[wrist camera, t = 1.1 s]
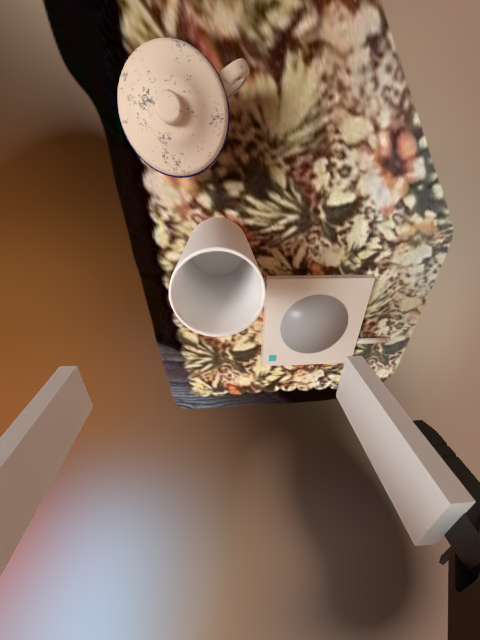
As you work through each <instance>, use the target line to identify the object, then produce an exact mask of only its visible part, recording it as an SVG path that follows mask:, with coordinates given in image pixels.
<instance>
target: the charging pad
mask: <svg viewBox="0 0 480 640" xmlns="http://www.w3.org/2000/svg"><path fill="white" fill-rule="evenodd" d="M374 281H375V277H373V276H372V275H287V276H267V277H266V297H265V306H264V321H263V335H262V350H261V364H262V366H273V365H301V364H329V363H345V361H346V357H347V356H353V352H354V349H355V346H356V344H371V343H388V342H389V338H387V337H381V338H358V335H359V332H360V329H361V325H362V322H363V318H364V315H365V312H366V308H367V305H368V301H369V298H370V295H371V291H372V288H373V284H374Z"/></svg>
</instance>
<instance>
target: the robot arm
mask: <svg viewBox="0 0 480 640" xmlns="http://www.w3.org/2000/svg"><path fill="white" fill-rule="evenodd" d="M336 397H337V399H338V401H339V402H340V404H341V406H342V408H343V410H344V412H345V414H346V416H347V418H348V419H349V421H350V423H351V425H352V427H353V429H354V431H355V433H356V435H357V436H358V438H359V440H360V442H361V444H362V446H363V448H364V450H365V452H366V454H367V455H368V457H369V459H370V461H371V463H372V465H373V467H374V469H375V471H376V472H377V474H378V476H379V478H380V480H381V482H382V484H383V486H384V487H385V490H386V491H387V493H388V495H389V497H390V499H391V501H392V503H393V504H394V507H395V508H396V510H397V512H398V514H399V516H400V518H401V520H402V522H403V524H404V525H405V527H406V529H407V531H408V533H409V535H410V537H411V538H412V541H413V542H414V544H415V546H419V545H430V544H437V543H438V542H439V541H440V540H441V539H442V538H443V537H444V536H445V537H446V539H447V540H448V542H449V543H450V545H451V547H450V548H449V549H448V550H447V551H446V552H445V553H444V554H443V555H442V556H441V558H440V561H439V563H441V564H443V565H444V564H445V563H446V562H447V561H448V560H449V570H448V572H449V573H448V640H480V482H479V481H478V480H477V479H476V478H475V476H474V475H473V474H472V473H471V472H470V470H469V469H468V468H467V467H466V466H465V465H464V464H463V462H462V461H461V460H460V459H459V458H458V457H456V454H455V453H454V452H453V450H452V449H451V448H450V447H449V446H447V443H446V442H445V441H444V440H443V439H442V437H441V436H440V435H439V434H438V433H437V432H436V431H435V430H434V429H433V428H432V427H430V426H429V425H428V424H426V423H425V422H423V421H422V420H416V421H412V420H411V418H410V417H409V416H408V415H407V413H406V412H405V411H404V410H403V408H402V407H401V406H400V405H399V403H398V402H397V401H396V399H395V398H394V397H393V395H392V394H391V393H390V392H389V390H388V389H387V388H386V387H385V385H384V384H383V383H382V381H381V380H380V379H379V378H378V376H377V375H376V374H375V373H374V371H373V370H372V369H371V367H370V366H369V365H368V364H367V362H366V361H365V360H364V359H363V357H362V356H347V357H346V361H345V364H344V368H343V372H342V375H341V379H340V382H339V386H338V390H337V393H336ZM92 408H93V405H92V403H91V401H90V398H89V395H88V393H87V390H86V388H85V386H84V383H83V380H82V378H81V375H80V373H79V370H78V368H77V366H63V367H62V366H61V367H59V368H58V369H57V371H56V372H55V373H54V374H53V375H52V377H51V378H50V379H49V380H48V381H47V383H46V384H45V385H44V386H43V387H42V389H41V390H40V391H39V392H38V394H37V395H36V396H35V397H34V398H33V399H32V401H31V402H30V403H29V404H28V405H27V407H26V408H25V409H24V410H23V411H22V413H21V414H20V415H19V416H18V417H17V418H16V420H15V421H14V422H13V423H12V424H11V426H10V427H9V428H8V430H6V432H5V433H4V434H3V435H2V437H1V438H0V576H1V574H2V572H3V571H4V569H5V567H6V565H7V563H8V561H9V560H10V557H11V556H12V554H13V552H14V550H15V549H16V547H17V545H18V543H19V541H20V539H21V538H22V536H23V534H24V532H25V530H26V528H27V527H28V525H29V523H30V521H31V519H32V517H33V516H34V514H35V512H36V510H37V508H38V507H39V505H40V503H41V501H42V499H43V497H44V496H45V494H46V492H47V490H48V488H49V486H50V484H51V483H52V481H53V479H54V477H55V475H56V473H57V472H58V470H59V468H60V466H61V464H62V462H63V461H64V459H65V457H66V455H67V453H68V451H69V450H70V448H71V446H72V444H73V442H74V441H75V439H76V437H77V435H78V433H79V431H80V430H81V428H82V426H83V424H84V422H85V420H86V419H87V417H88V415H89V413H90V411H91V409H92Z"/></svg>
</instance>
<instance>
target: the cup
mask: <svg viewBox="0 0 480 640" xmlns="http://www.w3.org/2000/svg"><path fill="white" fill-rule="evenodd" d="M265 297H266V290H265V283H264V279H263V276H262V274H261V271H260V269H259V267H258V264H257V262H256V259H255V257H254V255H253V252H252V250H251V248H250V245H249V243H248V240H247V238H246V236H245V234H244V232H243V230H242V229H241V228H240V227H239V226H238V225H237V224H236V223H234V222H233V221H231V220H229V219H226V218H221V217H215V218H210V219H207V220H205V221H203V222H201V223H200V224H199V225H197V226H196V228H195V229H194V230H193V232H192V234H191V236H190V238H189V240H188V242H187V244H186V246H185V249H184V251H183V253H182V255H181V257H180V259H179V261H178V263H177V265H176V268H175V270H174V272H173V274H172V277H171V280H170V285H169V299H170V303H171V306H172V309H173V311H174V313H175V314H176V316H177V317H178V319H179V320H180V321H181V322H182V323H183V324H184V325H185V326H187V327H188V328H189V329H191V330H193V331H195V332H197V333H199V334H202V335H206V336H212V337H224V336H230V335H233V334H236V333H239V332H241V331H243V330H245V329H246V328H248V327H249V326H250V325H251V324H252V323H253V322H254V321H255V320H256V319H257V318H258V316H259V315H260V313H261V311H262V309H263V306H264V303H265Z"/></svg>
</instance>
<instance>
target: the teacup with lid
mask: <svg viewBox="0 0 480 640" xmlns="http://www.w3.org/2000/svg"><path fill="white" fill-rule="evenodd" d="M249 72H250V71H249V67H248V65H247V62H246V61H245V60H244V59H242V58H240V59H237V60H235V61H233V62H232V63H230V64H229V65H227V66H226V67H225V68H224V69H222V70H221V71H220V72H219V73H218V72H217V71H216V69H215V67H214V66H213V64H212V63H211V62H210V61H209V59H208V58H207V57H206V56H205V55H204V54H203V53H202V52H201V51H199V50H198V49H197V48H195V47H194V46H192V45H191V44H189V43H187V42H184V41H182V40H179V39H175V38H156V39H153V40H150V41H148V42H145V43H144V44H142V45H141V46H139V47H138V48H137V49H136V50H135V51H134V52H133V53H132V54H131V55H130V57H129V58H128V60H127V62H126V63H125V65H124V68H123V70H122V73H121V76H120V80H119V85H118V110H119V116H120V120H121V124H122V127H123V130H124V133H125V135H126V137H127V139H128V141H129V143H130V144H131V146H132V148H133V149H134V150H135V152H136V153H137V154H138V156H139V157H140V158H141V159H142V160H143V161H144V162H145V163H146V164H148V165H149V166H150V167H152V168H153V169H155V170H156V171H158V172H160V173H162V174H165V175H168V176H171V177H178V178H185V177H191V176H195V175H197V174H200V173H202V172H203V171H205V170H207V169H208V168H210V167H211V166H212V165H213V164H214V163H215V162H216V160H217V159H218V157H219V155H220V154H221V152H222V150H223V148H224V145H225V143H226V139H227V136H228V131H229V120H230V115H229V104H228V100H229V99H230V98H231V97H232V96H233V95H234V94H235V93H236V92H237V91H238V90H239V89H240V88H241V87H242V86H243V84H244V83H245V82H246V80H247V79H248V76H249Z"/></svg>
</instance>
